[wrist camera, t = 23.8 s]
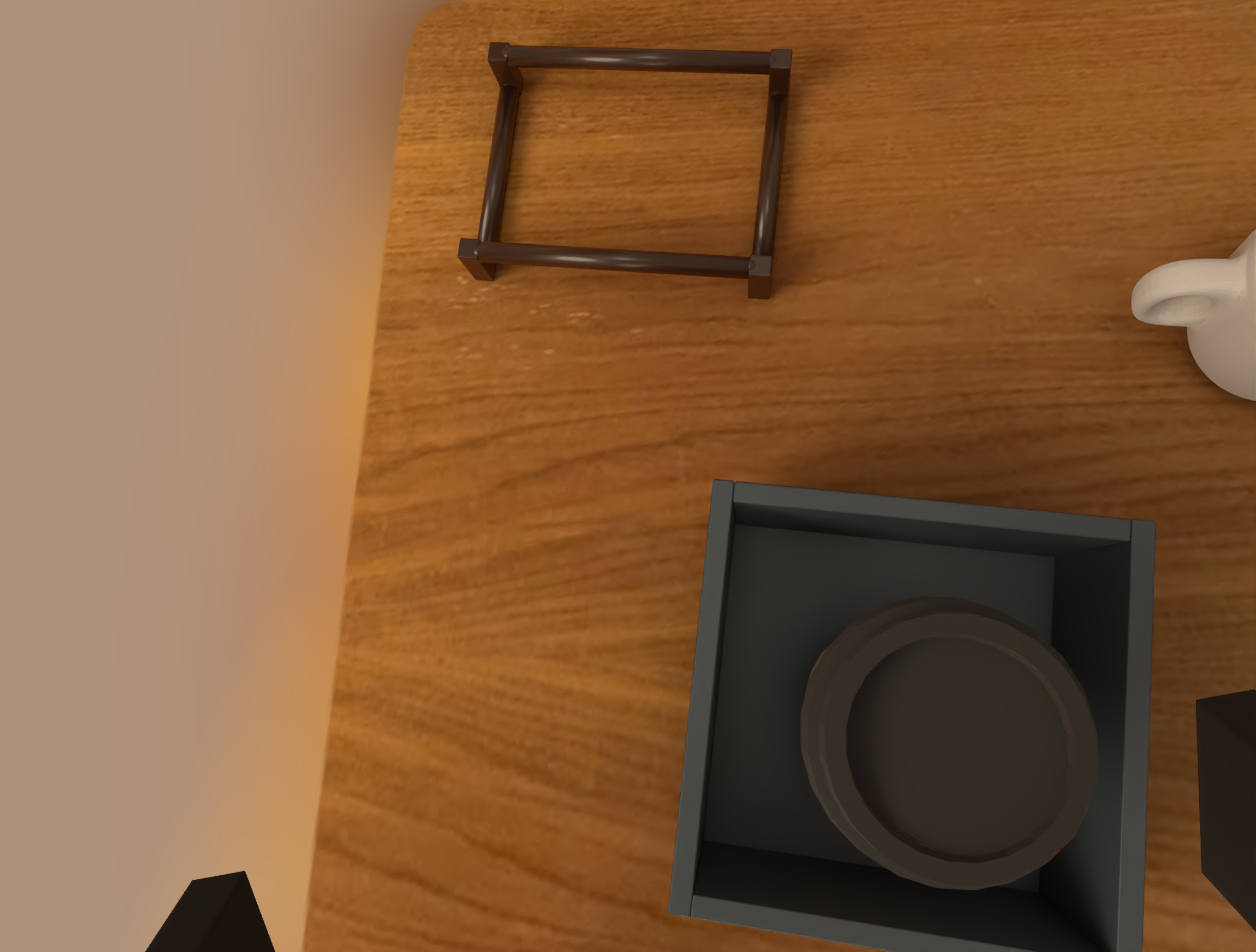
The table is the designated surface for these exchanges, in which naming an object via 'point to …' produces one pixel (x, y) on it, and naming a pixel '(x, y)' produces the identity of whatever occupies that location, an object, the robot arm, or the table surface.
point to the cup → (1209, 312)
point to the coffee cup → (949, 742)
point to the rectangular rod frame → (488, 251)
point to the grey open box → (775, 689)
